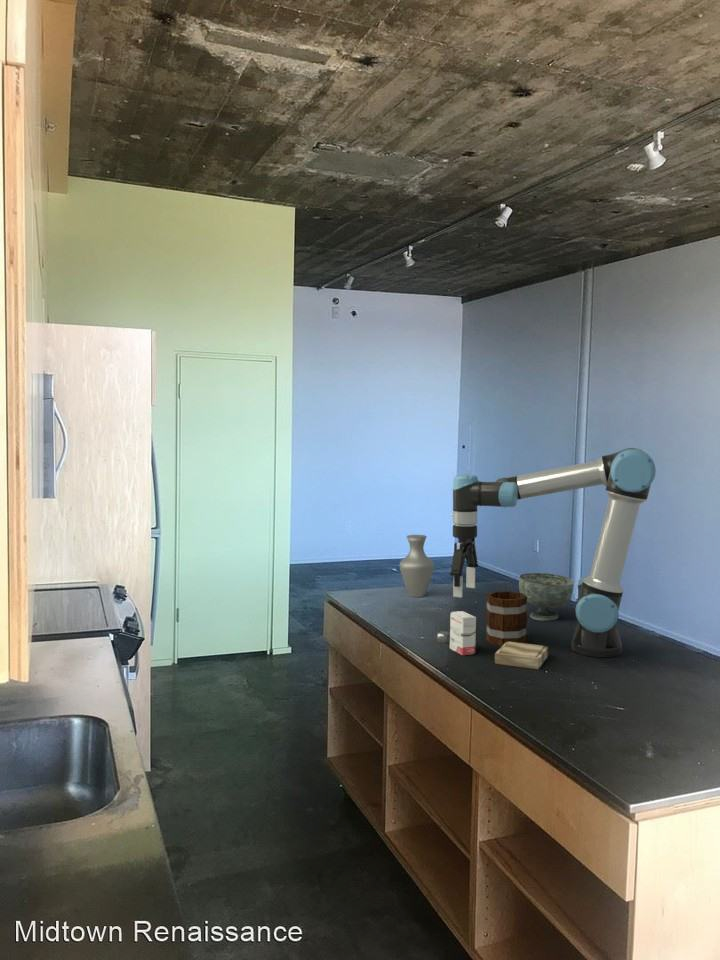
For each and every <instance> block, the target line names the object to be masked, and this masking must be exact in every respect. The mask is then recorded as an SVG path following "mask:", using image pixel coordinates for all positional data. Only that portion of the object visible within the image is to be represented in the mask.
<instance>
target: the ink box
mask: <svg viewBox="0 0 720 960" xmlns="http://www.w3.org/2000/svg"><path fill="white" fill-rule="evenodd" d="M449 620H450V621H449V622H450V623H449V625H450V626H449V630H450V631H449V649H450V650H451V651H453V652H456V653H458V654H459V655H461V656H467V655H468V656H469V655H475V654H476V637H477V635H476V634H477V633H476V632H477V630H476V629H477V617H476V616H475V615H472V614H469V613H467V612H466V611H463V610H461V611H459V610H458V611H451V612H450V619H449Z"/></svg>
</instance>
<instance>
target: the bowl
mask: <svg viewBox="0 0 720 960" xmlns="http://www.w3.org/2000/svg"><path fill="white" fill-rule="evenodd" d="M574 583H575V581H574V579H573V578H570V577H568V576H565V575H562V574H555V573H550V572H549V573H548V572H526V573H522V574H520V575H519V579H518V591H519V593H523V594H524V595H526V596H527V603H528V604H531V605H534V606H536V607H539V609H537V610H534V611H531V612H530V614H529V616H530V618H531V619H533V620H536V621H547V622H548V621H555V620H558V619H559V614H558V613H557V612H555V611H553V610H550V608H559V607H562V606H564V605H566V604H568V603H569V601H571V598H572V596H573V590H574Z"/></svg>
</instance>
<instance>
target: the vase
mask: <svg viewBox="0 0 720 960" xmlns="http://www.w3.org/2000/svg"><path fill="white" fill-rule="evenodd" d="M427 537H428V536H427V535H425V534H410V535H407V536H406V539H407V541H408V544H409V552H408V554H407V555H406V556H405V557H404V558H402V560H400V561H399V569H400V570H399V571H400V573H401V577H402V580H403V583H404V587H405V588H406V591H407V594H408V597H412V598H422V597H425V596H426V594H427V591H428V589H429V587H430V584H431V579H432V577H433V574H434V570H435V563H434V561H433V559H431V558H430V557H428V556H427V555H426V553H425V550H424V545H425V541H426V538H427Z"/></svg>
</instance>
